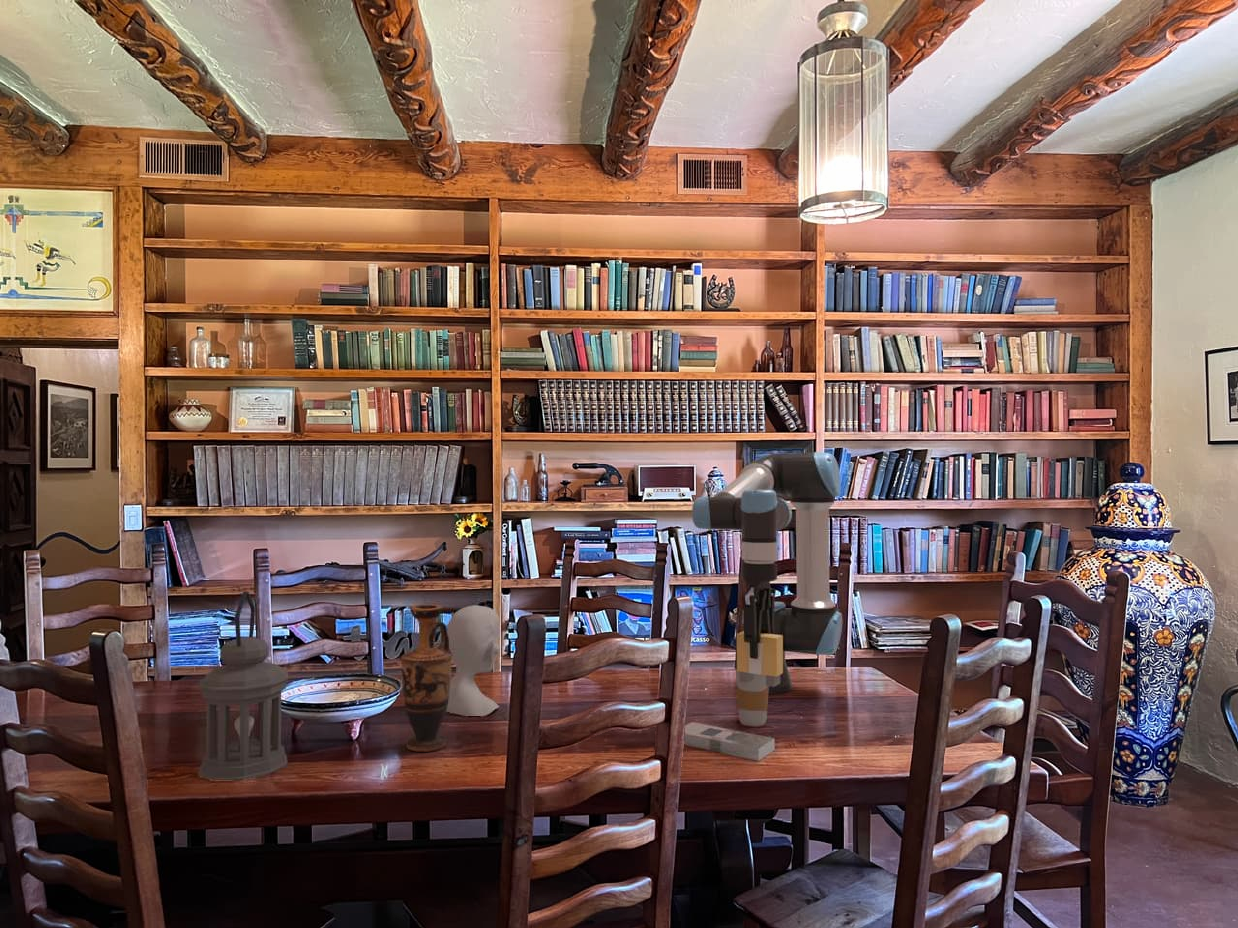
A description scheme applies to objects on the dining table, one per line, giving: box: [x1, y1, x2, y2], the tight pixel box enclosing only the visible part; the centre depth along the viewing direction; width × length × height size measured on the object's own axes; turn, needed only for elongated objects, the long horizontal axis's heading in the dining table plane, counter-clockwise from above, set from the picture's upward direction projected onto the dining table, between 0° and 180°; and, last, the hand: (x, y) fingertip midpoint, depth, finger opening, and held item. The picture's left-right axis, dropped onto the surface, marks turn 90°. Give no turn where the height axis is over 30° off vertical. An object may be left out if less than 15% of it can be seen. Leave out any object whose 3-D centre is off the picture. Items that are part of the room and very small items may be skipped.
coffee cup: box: [734, 661, 769, 727], centre depth 189 cm, size 8×8×15 cm
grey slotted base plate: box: [684, 721, 775, 762], centre depth 172 cm, size 20×8×2 cm, turn 56°
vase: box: [400, 603, 453, 753], centre depth 173 cm, size 11×11×30 cm
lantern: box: [197, 590, 290, 780], centre depth 161 cm, size 17×17×35 cm
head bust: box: [446, 604, 501, 717], centre depth 205 cm, size 22×19×25 cm
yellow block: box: [736, 631, 783, 687], centre depth 171 cm, size 9×4×10 cm, turn 58°
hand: (759, 670), depth 171 cm, fingers closed on yellow block, 4 cm apart
